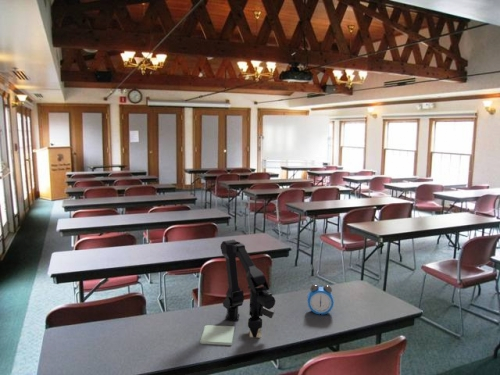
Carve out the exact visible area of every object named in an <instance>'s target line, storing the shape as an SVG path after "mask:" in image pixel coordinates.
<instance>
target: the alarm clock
mask: <svg viewBox="0 0 500 375" xmlns="http://www.w3.org/2000/svg"><path fill="white" fill-rule="evenodd" d="M332 292H333V289H332V287H331V286H330V285H328V284H325V285H324V286H323V285H320V286H319V285H318V284H315V283H314V284H311V286H310V287H309V292H308V295H307V305H308V308H309V309H310V311H311V312H312V314H313V313H314V314H316V315H320V314H321V315H328V313H330V312H331V311H332V310H333V308H334V297H333V294H332Z"/></svg>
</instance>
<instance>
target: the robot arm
mask: <svg viewBox="0 0 500 375" xmlns="http://www.w3.org/2000/svg"><path fill="white" fill-rule="evenodd" d="M220 250H221V255H222V256H223V257H224V258H225V264H226V272H227V273H226V274H227V283H228V284H227V285H228V289H227V290H226V295H225V296H226V297H225V299H224V300H223V301H222V306H223V307H224V308H225V309H226V315H225V320H226V321H233V322H234V321H237V322H238V321H239V320H240V313H239V307H240V306H243V303H244V302H245V301H244V300H245V296H244V290H242V289H241V287H240V286H239V277H238V276H239V275H238V267H237V266H238V265H237V259H236V258H238V260H239V262H240V264H241V266H242V267H243V269H244V272H245V273H246V276H245V277H246V281H247V284H248V286H247V289H248V290H249V312H248V313H249V314H248V315H249V316H250V317H249V318H248V320H247V327H248V328H249V331H250V330H251V333H252V335H253V337H252V338H254V339H256V338H257V337H256V336H257V332H258V329H259V328H261V329H262V328H263V319H262V318H261V317H263V316H265V317H268V319H273V317H274V314H275V311H276V310H275V308H274V307H275V304H276V298H275V297H274V296H273V293H271V292H269V290H270V287H269V283H268V281H267V279H266V276H265V274H264V273H263V272H262V270H261V269H259V268H258V267H256V265H255V264H254V262H253V260H252V257H250V255H249V253H248V251H247V250H246V246H245V244H244V243H241V242H240V241H236V240H235V239H229V240H224V241H222V242H221V244H220Z"/></svg>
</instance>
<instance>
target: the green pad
mask: <svg viewBox="0 0 500 375" xmlns="http://www.w3.org/2000/svg"><path fill="white" fill-rule="evenodd" d="M235 328H236V327H235V326H232V325H230V326H229V325H228V326H227V325H213V324H211V325H209V324H208V325H206V324H205V326H204V327H203V331H202V335H201V337H200V340H199V344H201V345H203V344H204V345H220V346H232V345H233V340H234V335H235Z"/></svg>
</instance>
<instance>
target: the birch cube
mask: <svg viewBox="0 0 500 375" xmlns="http://www.w3.org/2000/svg"><path fill="white" fill-rule="evenodd" d="M261 333H262V328H259V329H258V332H257V336H256V338H259V339H260V338H261ZM249 338H254V337H253V335H252V333H251V330H250V329H249Z"/></svg>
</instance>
